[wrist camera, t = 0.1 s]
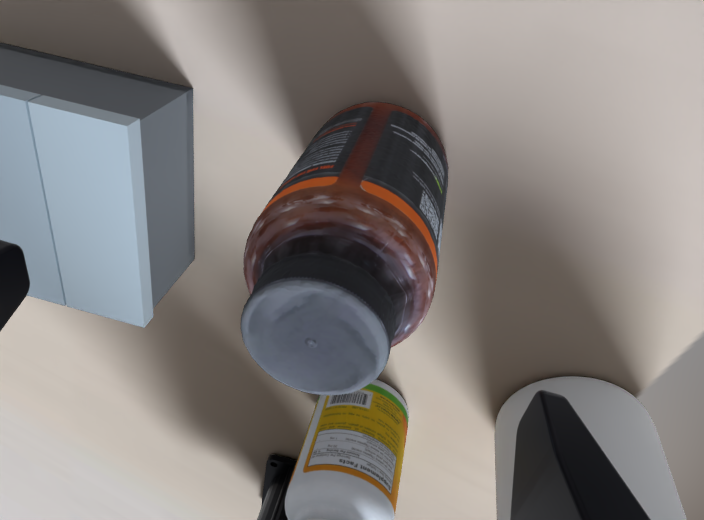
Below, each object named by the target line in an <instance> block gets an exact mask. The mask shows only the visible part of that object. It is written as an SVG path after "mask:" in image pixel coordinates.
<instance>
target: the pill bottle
mask: <svg viewBox="0 0 704 520" xmlns="http://www.w3.org/2000/svg"><path fill="white" fill-rule="evenodd" d="M539 390H545V391H549V392H552V393H556V394H559V395H562V396H564V397H565V398H566V399H567V400H568V401H569V402H570V404H571V405H572V407H573V408H574V410H575V411H576V412H577V414H578V415H579V417H580V418H581V420H582V421H583V423H584V424H585V425H586V427H587V428H588V430H589V431H590V433H591V434H592V436H593V437H594V438H595V440H596V441H597V443H598V444H599V446H600V447H601V448H602V450H603V451H604V453H605V454H606V456H607V457H608V459H609V460H610V461H611V463H612V464H613V466H614V467H615V469H616V470H617V472H618V473H619V474H620V476H621V477H622V479H623V480H624V482H625V483H626V484H627V486H628V487H629V489H630V490H631V492H632V493H633V495H634V496H635V497H636V499H637V500H638V502H639V503H640V505H641V506H642V508H643V509H644V510H645V512H646V513H647V515H648V516H649V518H650V519H651V520H687V519H686V516H685V513H684V510H683V507H682V504H681V501H680V498H679V496H678V492H677V490H676V487H675V483H674V480H673V477H672V474H671V471H670V468H669V466H668V463H667V460H666V457H665V454H664V451H663V448H662V445H661V442H660V439H659V436H658V433H657V430H656V427H655V425H654V423H653V421H652V419H651V417H650V415H649V413H648V411H647V410H646V408H645V407H644V406H643V405H642V403H641V402H640V401H639V400H638V399H637V398H635V397H634V396H633V395H632V394H630V393H629V392H627V391H626V390H624V389H622V388H621V387H619V386H616V385H614V384H612V383H609V382H606V381H603V380H599V379H594V378H588V377H576V376H567V377H556V378H550V379H545V380H541V381H538V382H535V383H532V384H530V385H528V386H525V387H524V388H522V389H520V390H518V391H517V392H516V393H514V394H513V395H512V396H511V397H510V398H509V399H508V400H507V401H506V402H505V403H504V405H503V406H502V408H501V409H500V411H499V414H498V416H497V420H496V425H495V470H496V505H497V520H510V517H511V501H512V487H513V474H514V460H515V446H516V434H517V428H518V425H519V422H520V420H521V418H522V416H523V414H524V413H525V411H526V409H527V407H528V405H529V404H530V402H531V400H532V398H533V396H534V395H535V393H536V392H538V391H539Z"/></svg>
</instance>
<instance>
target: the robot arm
mask: <svg viewBox="0 0 704 520" xmlns="http://www.w3.org/2000/svg"><path fill="white" fill-rule="evenodd" d="M29 288H30V279H29V274H28V270H27V265H26V261H25V257H24V253H23V250H22V249H21V247H20V246H18V245H17V244H14V243H10V242H6V241H3V240H0V331H1V330H2V328H3V327H4V326H5V324H6V323H7V321H8V320H9V319H10V317H11V316H12V315H13V313H14V312H15V311H16V309H17V308H18V306H19V305H20V304H21V302H22V301H23V300H24V298H25V297H26V295H27V293H28V291H29ZM296 463H297V461H295V460H292V459H289V458H285V457H282V456H278V455H270V456H269V458H268V460H267V464H266V473H265V481H264V489H263V498H262V506H261V510H260V513H259V516H258V518H257V520H288V518H287V516H286V512H285V497H286V493H287V490H288V486H289V483H290V480H291V477H292V474H293V472H294V469H295V466H296ZM510 520H651V519H650V518H649V516H648V515H647V513H646V512H645V510H644V509H643V508H642V506H641V505H640V503H639V502H638V500H637V499H636V497H635V496H634V495H633V493H632V492H631V490H630V489H629V487H628V486H627V484H626V483H625V482H624V480H623V479H622V477H621V476H620V474H619V473H618V472H617V470H616V469H615V467H614V466H613V464H612V463H611V461H610V460H609V459H608V457H607V456H606V454H605V453H604V451H603V450H602V448H601V447H600V446H599V444H598V443H597V441H596V440H595V438H594V437H593V436H592V434H591V433H590V431H589V430H588V428H587V427H586V425H585V424H584V423H583V421H582V420H581V418H580V417H579V415H578V414H577V412H576V411H575V410H574V408H573V407H572V405H571V404H570V402H569V401H568V400H567V399H566V398H565V397H564V396H562V395H559V394H556V393H552V392H549V391H545V390H539V391H538V392H536V393H535V395H534V396H533V398H532V400H531V402H530V404H529V405H528V407H527V409H526V411H525V413H524V414H523V416H522V418H521V420H520V422H519V425H518V428H517V434H516V446H515V460H514V474H513V487H512V501H511V517H510Z"/></svg>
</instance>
